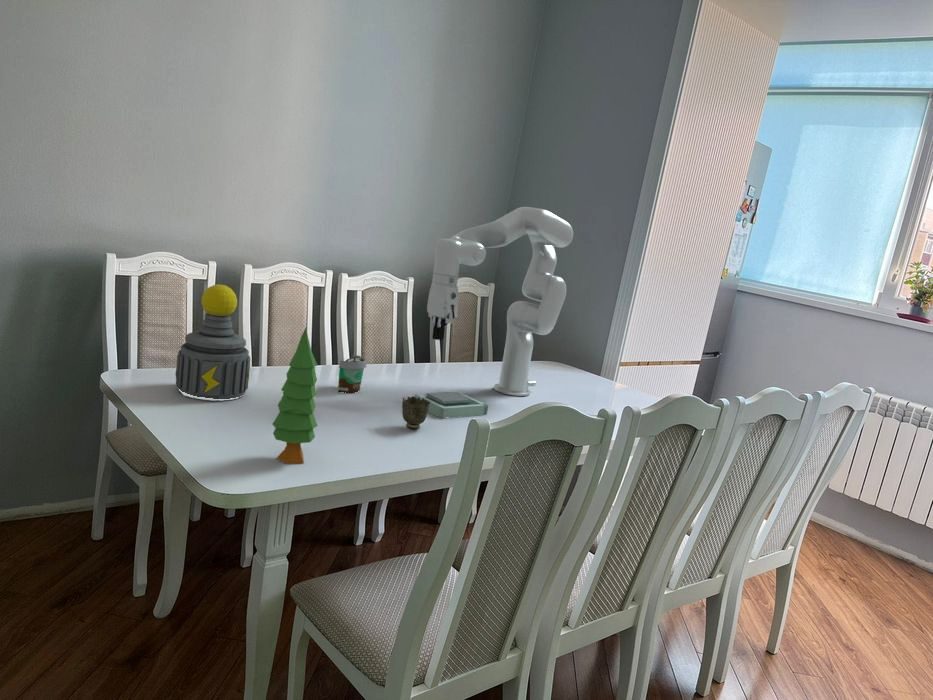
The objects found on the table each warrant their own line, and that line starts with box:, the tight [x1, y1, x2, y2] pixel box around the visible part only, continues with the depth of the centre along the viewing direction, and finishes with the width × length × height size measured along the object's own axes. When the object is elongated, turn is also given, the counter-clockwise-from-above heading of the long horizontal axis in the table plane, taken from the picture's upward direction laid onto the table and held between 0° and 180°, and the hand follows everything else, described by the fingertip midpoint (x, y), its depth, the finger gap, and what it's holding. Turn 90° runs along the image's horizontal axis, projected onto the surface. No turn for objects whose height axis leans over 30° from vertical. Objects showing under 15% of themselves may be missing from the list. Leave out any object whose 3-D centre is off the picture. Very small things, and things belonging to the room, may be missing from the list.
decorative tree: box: [272, 327, 318, 465], centre depth 160 cm, size 10×9×30 cm
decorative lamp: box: [175, 284, 251, 399], centre depth 199 cm, size 19×19×30 cm
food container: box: [337, 354, 367, 394], centre depth 225 cm, size 12×6×10 cm, turn 168°
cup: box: [401, 395, 430, 431], centre depth 196 cm, size 8×7×8 cm
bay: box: [413, 391, 489, 419], centre depth 221 cm, size 17×14×3 cm
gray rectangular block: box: [425, 391, 470, 407], centre depth 220 cm, size 10×8×4 cm
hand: (437, 339), depth 227 cm, fingers closed
